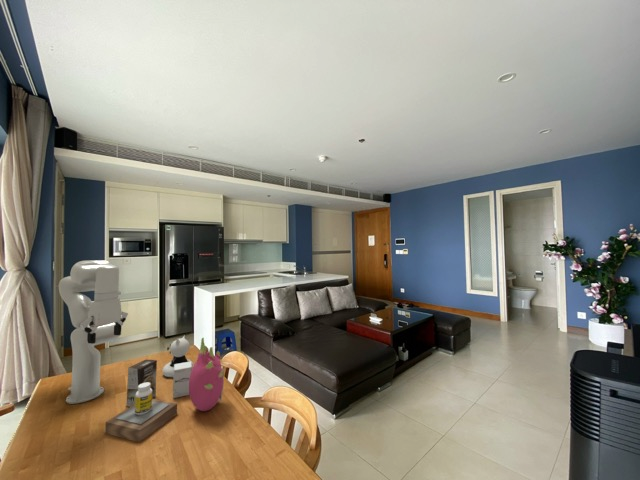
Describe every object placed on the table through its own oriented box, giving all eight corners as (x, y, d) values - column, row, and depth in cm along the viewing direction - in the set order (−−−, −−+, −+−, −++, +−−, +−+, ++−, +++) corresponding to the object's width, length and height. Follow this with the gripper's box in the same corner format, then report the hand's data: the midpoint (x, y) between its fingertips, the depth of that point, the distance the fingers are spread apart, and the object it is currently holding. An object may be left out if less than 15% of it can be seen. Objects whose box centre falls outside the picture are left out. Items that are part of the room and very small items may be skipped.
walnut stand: (105, 433, 92) (105, 420, 93) (146, 407, 108) (146, 396, 108) (139, 442, 88) (139, 429, 88) (177, 413, 104) (177, 402, 104)
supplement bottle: (138, 417, 95) (139, 390, 95) (132, 412, 97) (132, 386, 98) (154, 409, 99) (155, 383, 100) (147, 405, 102) (148, 379, 102)
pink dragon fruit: (227, 415, 103) (229, 339, 104) (189, 426, 96) (191, 345, 97) (219, 393, 118) (221, 327, 119) (186, 402, 111) (188, 332, 112)
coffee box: (138, 408, 107) (139, 368, 108) (125, 406, 109) (127, 367, 109) (156, 396, 116) (157, 359, 117) (144, 394, 117) (145, 358, 118)
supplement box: (172, 399, 114) (173, 370, 114) (173, 391, 120) (173, 363, 121) (191, 394, 117) (191, 366, 118) (190, 387, 124) (191, 360, 124)
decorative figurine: (170, 366, 146) (171, 331, 146) (197, 365, 147) (197, 330, 148) (156, 379, 131) (157, 340, 132) (186, 378, 132) (187, 339, 133)
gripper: (121, 292, 114) (119, 331, 113) (74, 299, 97) (72, 345, 96) (134, 293, 112) (132, 333, 111) (89, 300, 95) (87, 347, 94)
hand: (105, 338), depth 104 cm, fingers open, 9 cm apart
